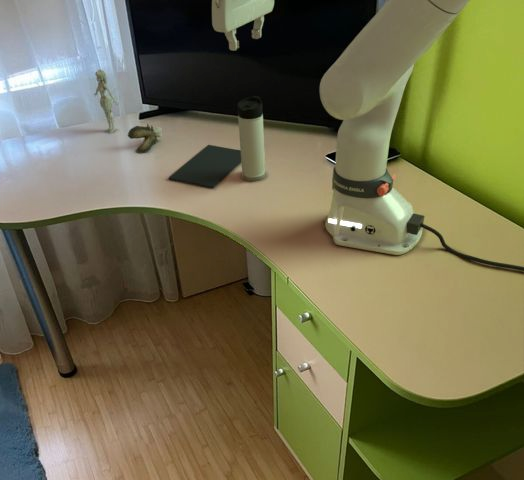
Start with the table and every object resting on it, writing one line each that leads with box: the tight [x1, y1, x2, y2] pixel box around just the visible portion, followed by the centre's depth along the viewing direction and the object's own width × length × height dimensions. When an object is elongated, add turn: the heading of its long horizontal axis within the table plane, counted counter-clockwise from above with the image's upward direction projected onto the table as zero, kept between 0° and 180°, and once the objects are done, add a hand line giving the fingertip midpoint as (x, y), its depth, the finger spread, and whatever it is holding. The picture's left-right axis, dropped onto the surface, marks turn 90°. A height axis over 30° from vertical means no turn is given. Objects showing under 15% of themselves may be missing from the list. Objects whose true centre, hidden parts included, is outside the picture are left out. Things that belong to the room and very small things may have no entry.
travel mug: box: [237, 95, 266, 182], centre depth 145 cm, size 6×7×20 cm
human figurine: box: [93, 69, 120, 134], centre depth 171 cm, size 12×4×18 cm, turn 47°
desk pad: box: [168, 144, 242, 190], centre depth 157 cm, size 14×22×1 cm, turn 154°
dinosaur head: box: [127, 123, 163, 154], centre depth 166 cm, size 8×7×9 cm
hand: (245, 43), depth 128 cm, fingers open, 8 cm apart
